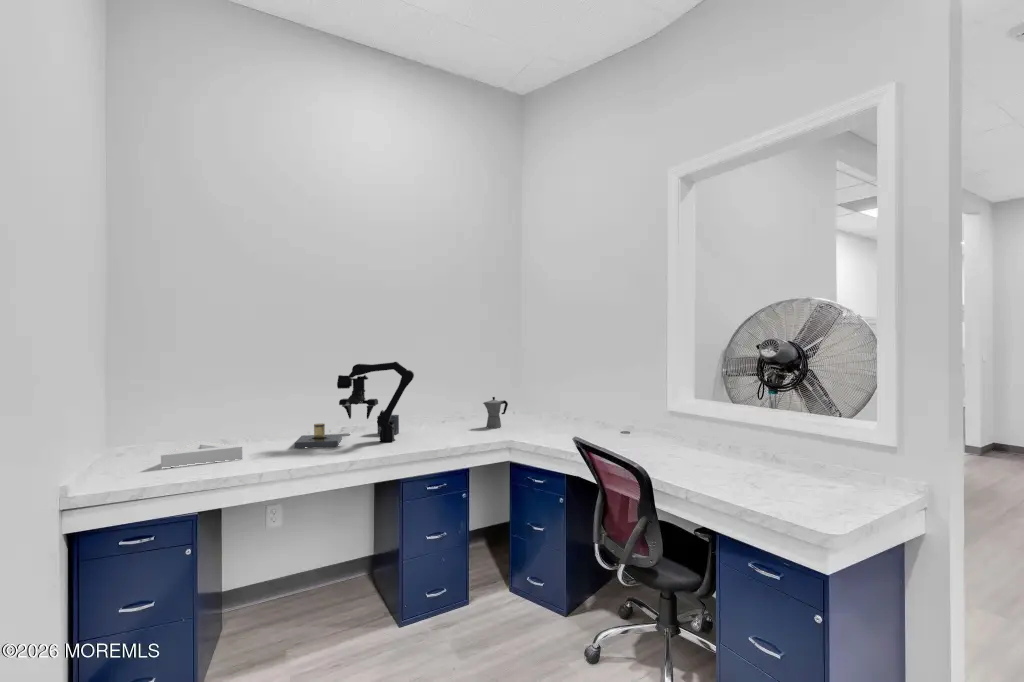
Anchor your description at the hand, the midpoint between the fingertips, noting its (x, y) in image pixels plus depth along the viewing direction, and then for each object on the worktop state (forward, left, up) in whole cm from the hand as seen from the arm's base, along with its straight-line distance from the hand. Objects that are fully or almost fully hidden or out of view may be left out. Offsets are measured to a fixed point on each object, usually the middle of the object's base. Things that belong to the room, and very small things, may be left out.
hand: (358, 418), depth 271 cm
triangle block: (+50, +43, -13) cm, 67 cm away
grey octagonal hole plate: (+18, +6, -12) cm, 23 cm away
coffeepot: (-65, -49, -12) cm, 82 cm away
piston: (+18, +6, -12) cm, 23 cm away
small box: (-8, -23, -12) cm, 27 cm away
